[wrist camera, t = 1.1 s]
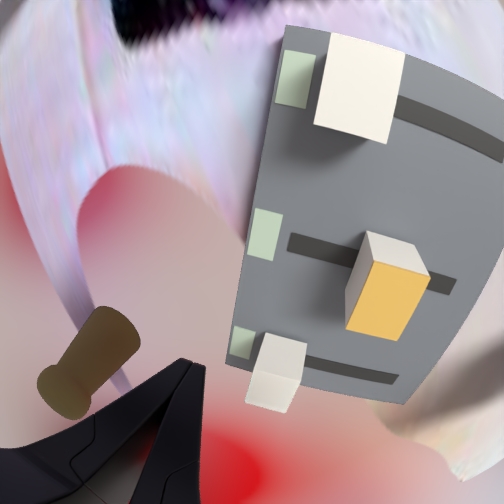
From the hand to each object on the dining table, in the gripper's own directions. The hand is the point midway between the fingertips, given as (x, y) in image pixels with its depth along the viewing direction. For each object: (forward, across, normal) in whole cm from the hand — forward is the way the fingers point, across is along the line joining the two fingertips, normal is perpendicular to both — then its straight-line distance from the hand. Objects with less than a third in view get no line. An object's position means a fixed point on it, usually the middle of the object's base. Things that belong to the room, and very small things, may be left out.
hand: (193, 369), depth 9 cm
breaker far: (+10, -3, +9) cm, 14 cm away
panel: (+12, -7, 0) cm, 14 cm away
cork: (+12, +13, +15) cm, 23 cm away
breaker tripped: (+10, -7, 0) cm, 12 cm away
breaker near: (+10, -3, -9) cm, 14 cm away
